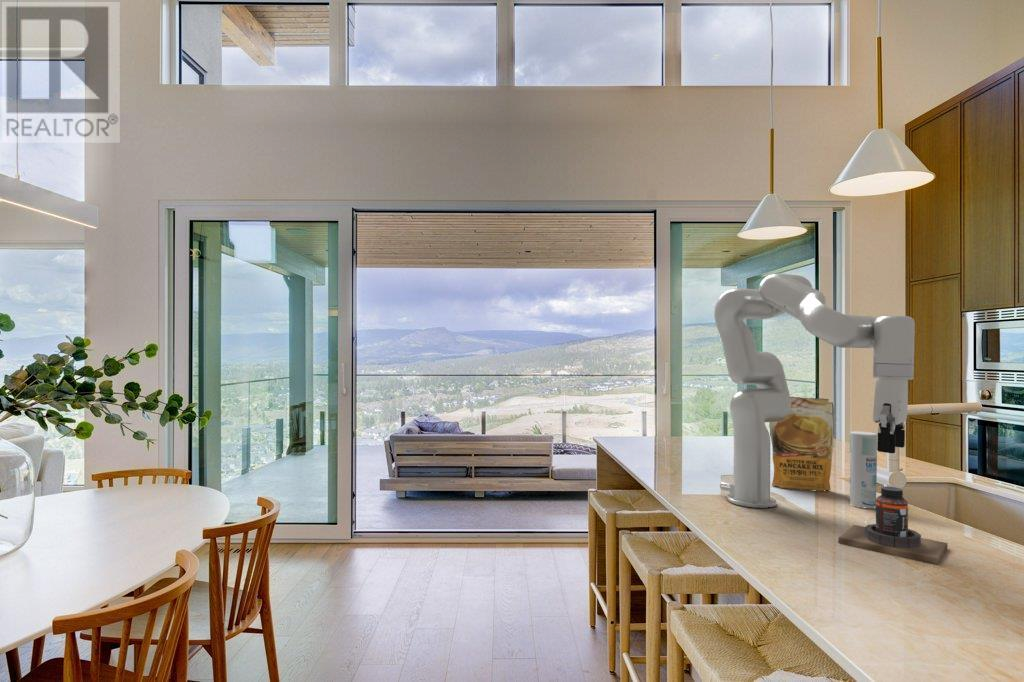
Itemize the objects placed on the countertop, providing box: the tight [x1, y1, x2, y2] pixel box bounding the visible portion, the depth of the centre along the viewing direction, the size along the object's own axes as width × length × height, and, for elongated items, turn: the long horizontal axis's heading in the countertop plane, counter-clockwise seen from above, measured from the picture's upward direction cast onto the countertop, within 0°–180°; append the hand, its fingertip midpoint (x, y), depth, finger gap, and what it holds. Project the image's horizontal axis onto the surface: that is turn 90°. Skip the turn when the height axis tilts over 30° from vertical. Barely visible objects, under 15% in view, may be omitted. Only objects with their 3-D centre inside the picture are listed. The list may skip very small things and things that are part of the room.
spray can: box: [849, 430, 878, 509], centre depth 161 cm, size 6×6×20 cm
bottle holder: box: [837, 523, 948, 565], centre depth 128 cm, size 18×13×3 cm
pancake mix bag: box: [768, 396, 835, 492], centre depth 180 cm, size 7×19×28 cm, turn 71°
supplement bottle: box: [875, 486, 909, 537], centre depth 128 cm, size 6×6×11 cm
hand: (891, 449), depth 129 cm, fingers open, 9 cm apart
